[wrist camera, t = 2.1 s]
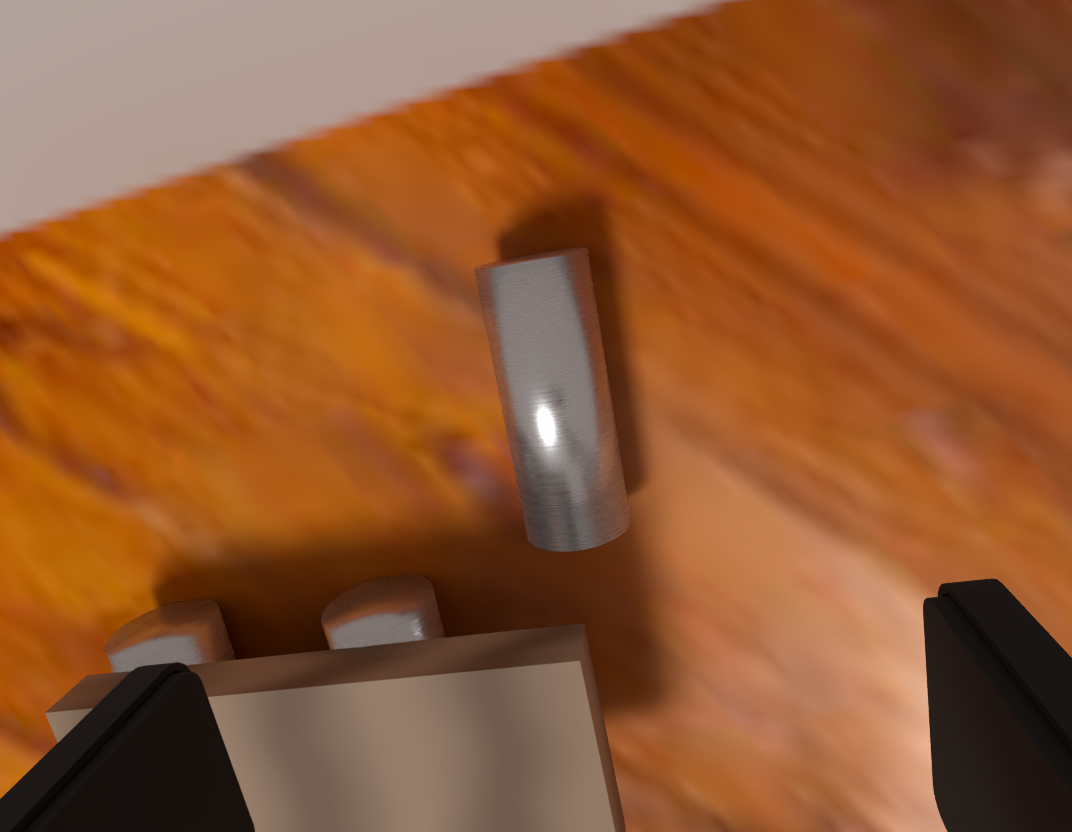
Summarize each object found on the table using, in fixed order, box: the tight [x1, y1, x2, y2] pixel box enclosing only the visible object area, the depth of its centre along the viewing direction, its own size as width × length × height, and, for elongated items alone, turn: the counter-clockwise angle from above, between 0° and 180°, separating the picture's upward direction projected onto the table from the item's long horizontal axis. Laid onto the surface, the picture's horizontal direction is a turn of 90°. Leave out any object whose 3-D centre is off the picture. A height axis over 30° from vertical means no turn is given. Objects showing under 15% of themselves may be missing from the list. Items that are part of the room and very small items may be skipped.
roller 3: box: [474, 247, 631, 552], centre depth 24 cm, size 9×4×4 cm
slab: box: [45, 623, 626, 832], centre depth 25 cm, size 18×8×2 cm, turn 101°
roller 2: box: [321, 574, 445, 650], centre depth 28 cm, size 9×4×4 cm, turn 11°
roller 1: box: [104, 599, 236, 673], centre depth 29 cm, size 9×4×4 cm, turn 10°
